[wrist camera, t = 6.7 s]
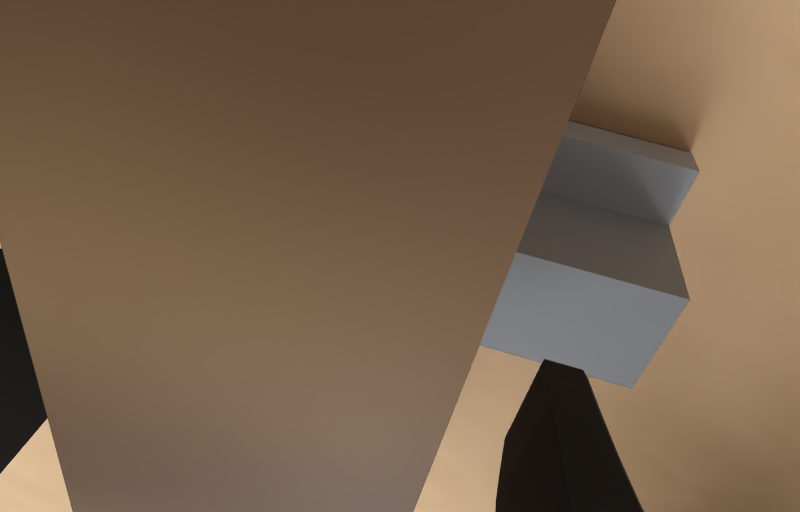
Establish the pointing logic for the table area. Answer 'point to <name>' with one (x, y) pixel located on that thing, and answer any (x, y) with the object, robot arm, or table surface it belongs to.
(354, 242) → the batten
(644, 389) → the table surface
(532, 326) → the ridge
